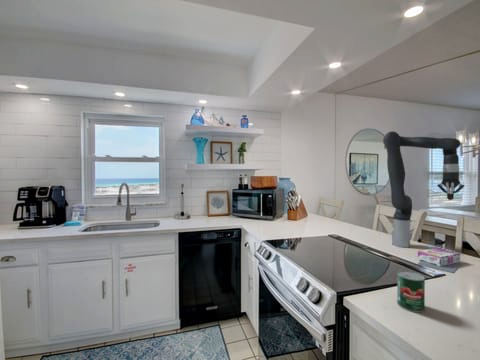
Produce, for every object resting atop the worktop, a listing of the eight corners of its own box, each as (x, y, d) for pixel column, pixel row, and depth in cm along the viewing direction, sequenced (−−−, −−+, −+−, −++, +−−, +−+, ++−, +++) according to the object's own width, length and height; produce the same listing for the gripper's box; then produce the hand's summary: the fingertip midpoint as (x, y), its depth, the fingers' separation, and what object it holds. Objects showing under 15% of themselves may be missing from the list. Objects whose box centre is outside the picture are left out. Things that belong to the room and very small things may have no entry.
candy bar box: (460, 253, 124) (441, 257, 118) (460, 262, 124) (440, 267, 118) (436, 246, 135) (417, 250, 129) (436, 255, 135) (417, 259, 129)
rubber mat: (417, 264, 123) (417, 263, 123) (427, 256, 134) (427, 256, 134) (453, 273, 112) (453, 272, 112) (460, 264, 123) (460, 263, 123)
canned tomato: (412, 300, 88) (413, 270, 87) (430, 312, 80) (431, 279, 80) (391, 300, 87) (392, 270, 87) (407, 312, 79) (408, 280, 79)
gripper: (435, 171, 148) (435, 199, 148) (464, 171, 138) (463, 201, 138) (438, 171, 153) (438, 198, 153) (466, 171, 142) (466, 200, 143)
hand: (450, 199), depth 145 cm, fingers closed
